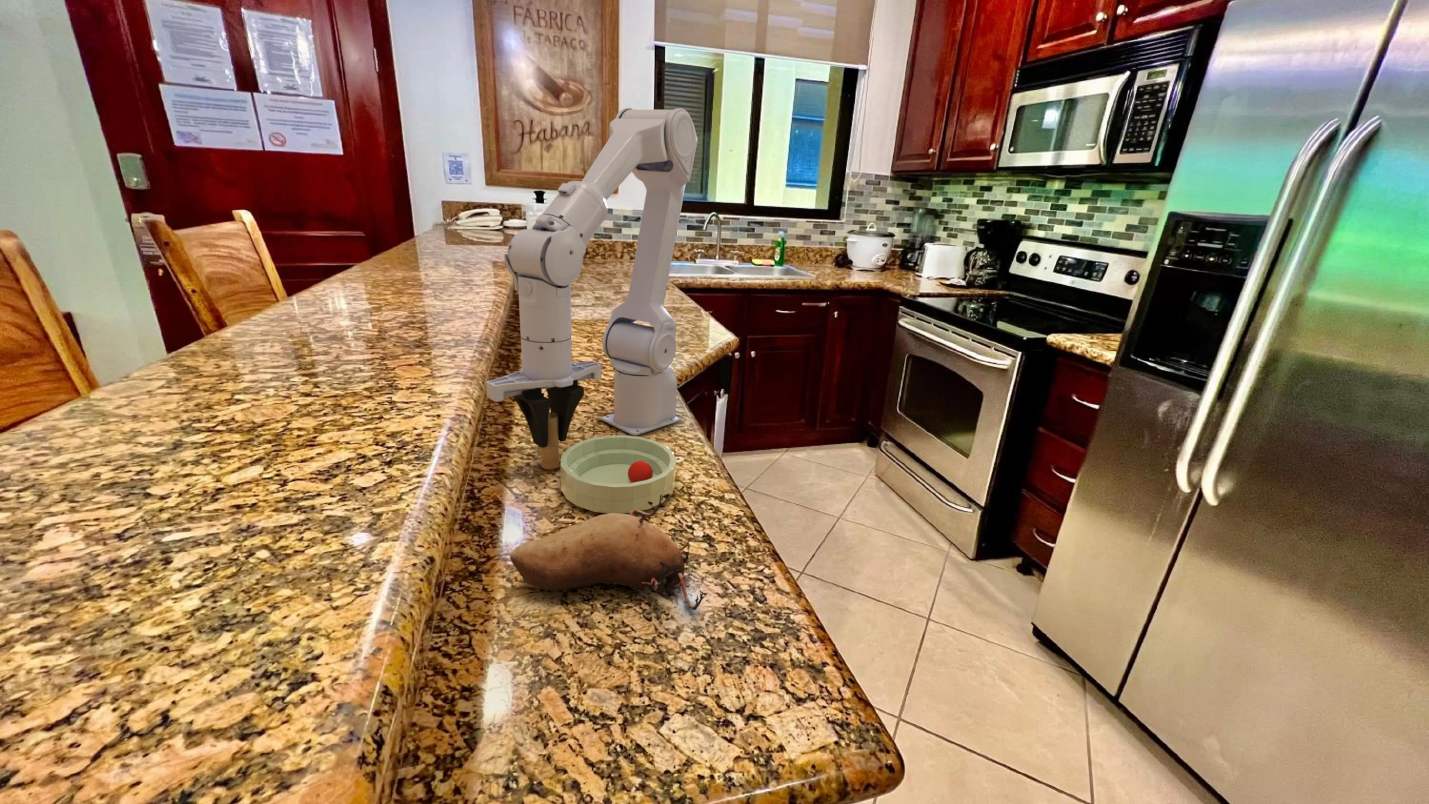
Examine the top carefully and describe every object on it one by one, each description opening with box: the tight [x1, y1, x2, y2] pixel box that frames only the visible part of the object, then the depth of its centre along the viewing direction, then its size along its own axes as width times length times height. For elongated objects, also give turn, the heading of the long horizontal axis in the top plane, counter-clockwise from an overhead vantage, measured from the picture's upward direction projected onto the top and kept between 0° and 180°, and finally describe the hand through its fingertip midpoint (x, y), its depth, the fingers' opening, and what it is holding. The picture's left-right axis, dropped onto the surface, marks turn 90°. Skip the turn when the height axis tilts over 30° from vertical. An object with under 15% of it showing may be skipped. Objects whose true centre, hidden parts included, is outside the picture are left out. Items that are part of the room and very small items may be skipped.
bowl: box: [559, 434, 677, 514], centre depth 66 cm, size 13×13×4 cm
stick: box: [540, 411, 560, 471], centre depth 69 cm, size 2×2×7 cm
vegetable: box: [509, 494, 708, 611], centre depth 48 cm, size 16×11×10 cm
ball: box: [628, 461, 653, 483], centre depth 66 cm, size 3×3×3 cm
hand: (549, 441), depth 69 cm, fingers closed on stick, 2 cm apart
